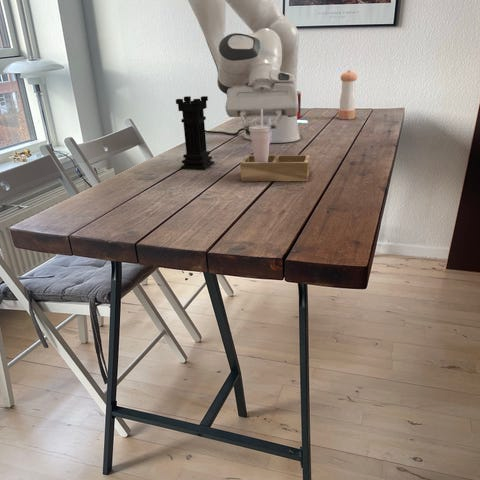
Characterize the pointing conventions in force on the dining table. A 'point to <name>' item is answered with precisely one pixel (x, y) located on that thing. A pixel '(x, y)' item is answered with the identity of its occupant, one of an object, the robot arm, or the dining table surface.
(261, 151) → the smoothie
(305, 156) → the rack
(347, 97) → the salt shaker
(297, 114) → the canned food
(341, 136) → the dining table surface
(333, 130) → the dining table surface
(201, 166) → the chess piece
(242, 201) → the dining table surface
